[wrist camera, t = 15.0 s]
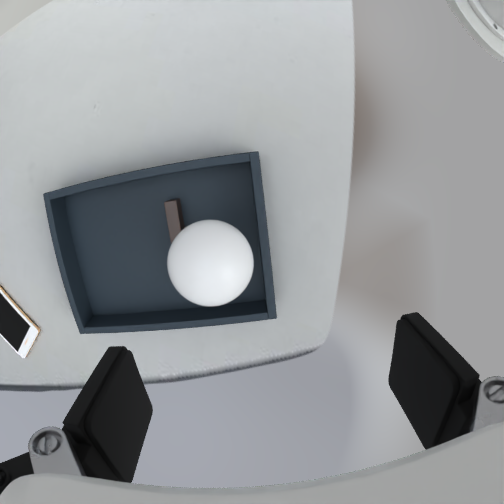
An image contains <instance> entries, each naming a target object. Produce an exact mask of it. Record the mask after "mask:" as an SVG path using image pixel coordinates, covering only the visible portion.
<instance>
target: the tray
mask: <svg viewBox="0 0 504 504" xmlns="http://www.w3.org/2000/svg"><path fill="white" fill-rule="evenodd" d="M43 195H44V201H45V207H46V212H47V218H48V223H49V228H50V232H51V237H52V241H53V246H54V250H55V254H56V258H57V262H58V266H59V269H60V273H61V277H62V280H63V284H64V287H65V290H66V294H67V297H68V300H69V303H70V306H71V309H72V312H73V315H74V318H75V321H76V324H77V326H78V329H79V332H80V334H85V333H86V334H91V333H118V332H138V331H154V330H169V329H181V328H193V327H204V326H215V325H225V324H234V323H243V322H251V321H260V320H268V319H276V318H277V315H276V305H275V295H274V285H273V276H272V266H271V257H270V248H269V238H268V229H267V220H266V211H265V203H264V194H263V185H262V177H261V168H260V160H259V152H250V153H241V154H233V155H225V156H218V157H211V158H204V159H198V160H192V161H185V162H180V163H174V164H168V165H163V166H157V167H152V168H147V169H142V170H137V171H132V172H128V173H123V174H119V175H114V176H110V177H105V178H101V179H97V180H93V181H89V182H85V183H81V184H77V185H73V186H70V187H66V188H62V189H59V190H55V191H52V192H48V193H45V194H43ZM178 198H180V202H181V208H182V215H183V221H184V227H187V226H188V225H190V224H192V223H195V222H197V221H201V220H220V221H223V222H226V223H228V224H230V225H232V226H234V227H235V228H237V229H238V230H239V231H240V232H241V233H242V234H243V235H244V236H245V238H246V239H247V241H248V242H249V244H250V247H251V249H252V253H253V259H254V268H253V274H252V277H251V280H250V282H249V284H248V286H247V287H246V289H245V290H244V291H243V292H242V293H241V294H240V295H239V296H238V297H237V298H236V299H234V300H232V301H231V302H229V303H226V304H223V305H220V306H212V307H209V306H201V305H197V304H195V303H192V302H190V301H189V300H187V299H185V298H184V297H183V296H182V295H181V294H180V293H179V292H178V291H177V290H176V289H175V287H174V286H173V284H172V282H171V280H170V277H169V274H168V269H167V257H168V252H169V249H170V246H171V241H170V235H169V230H168V224H167V218H166V212H165V206H164V202H166V201H168V200H172V199H178Z"/></svg>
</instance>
